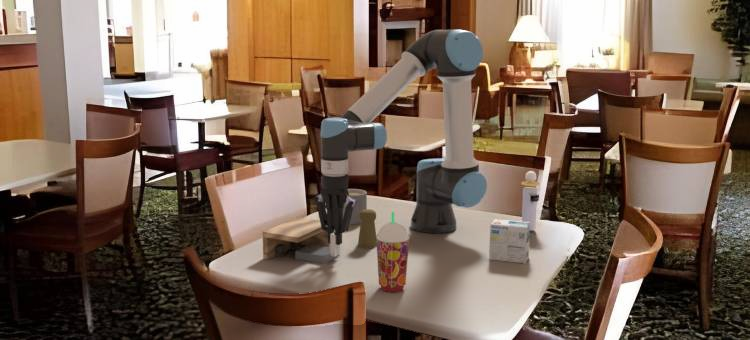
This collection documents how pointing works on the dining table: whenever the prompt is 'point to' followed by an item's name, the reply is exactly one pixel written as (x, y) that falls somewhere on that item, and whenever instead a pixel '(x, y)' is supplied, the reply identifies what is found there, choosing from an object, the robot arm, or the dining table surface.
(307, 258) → the slate board
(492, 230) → the light bulb box
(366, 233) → the cork
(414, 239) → the dining table surface
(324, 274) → the dining table surface
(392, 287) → the smoothie
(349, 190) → the coffee mug
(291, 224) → the oak shelf
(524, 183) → the perfume bottle
